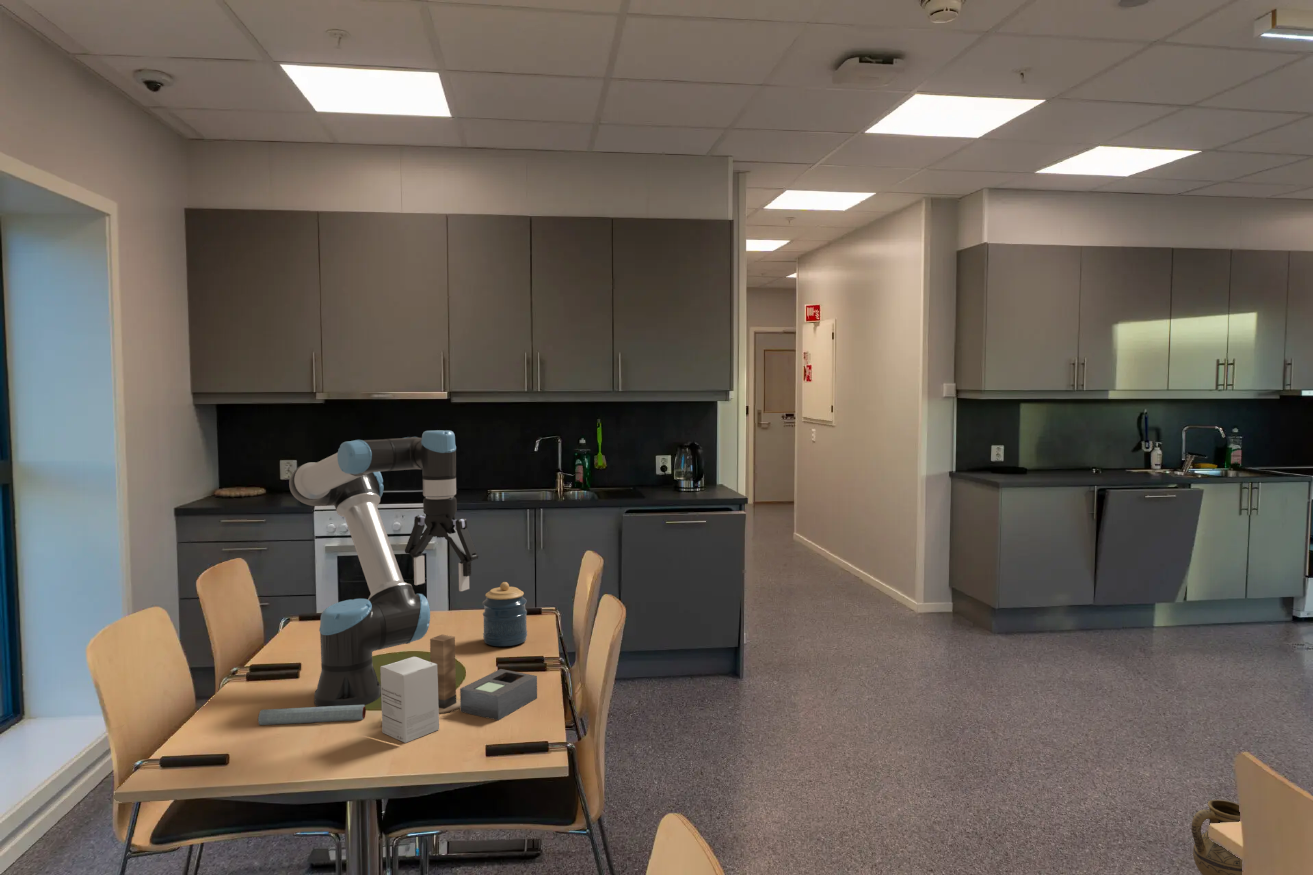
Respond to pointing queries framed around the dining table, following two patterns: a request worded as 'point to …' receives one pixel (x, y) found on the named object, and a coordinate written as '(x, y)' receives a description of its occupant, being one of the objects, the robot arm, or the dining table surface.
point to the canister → (504, 616)
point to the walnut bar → (444, 668)
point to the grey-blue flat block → (311, 714)
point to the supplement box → (409, 699)
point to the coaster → (450, 708)
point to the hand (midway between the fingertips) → (441, 586)
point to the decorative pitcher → (1209, 857)
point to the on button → (490, 687)
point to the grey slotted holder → (499, 694)
